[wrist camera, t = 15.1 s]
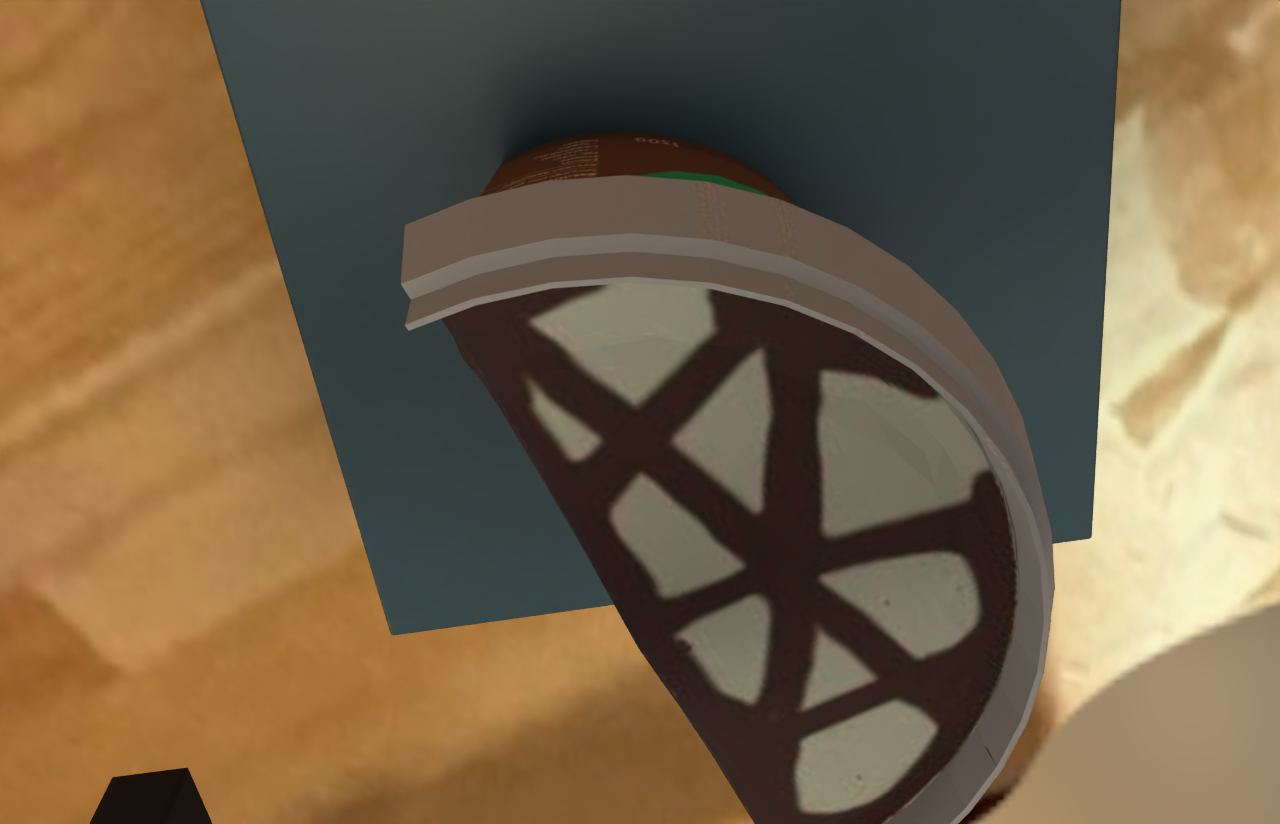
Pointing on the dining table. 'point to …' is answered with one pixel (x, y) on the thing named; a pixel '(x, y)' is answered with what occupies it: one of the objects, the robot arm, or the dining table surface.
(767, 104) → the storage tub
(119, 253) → the dining table surface
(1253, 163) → the dining table surface
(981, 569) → the food container
